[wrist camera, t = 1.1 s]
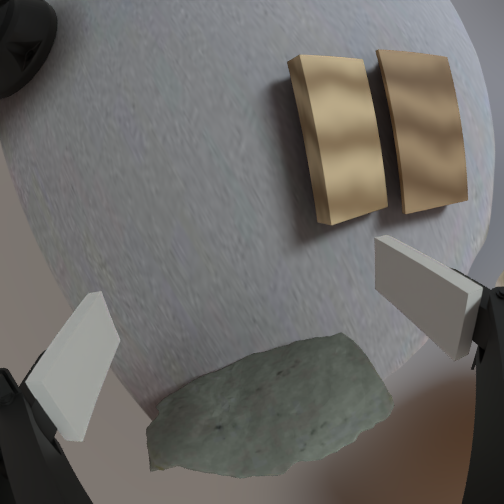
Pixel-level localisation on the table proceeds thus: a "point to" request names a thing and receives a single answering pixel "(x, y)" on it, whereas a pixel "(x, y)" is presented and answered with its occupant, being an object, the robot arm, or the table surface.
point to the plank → (339, 136)
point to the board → (425, 129)
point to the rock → (270, 410)
